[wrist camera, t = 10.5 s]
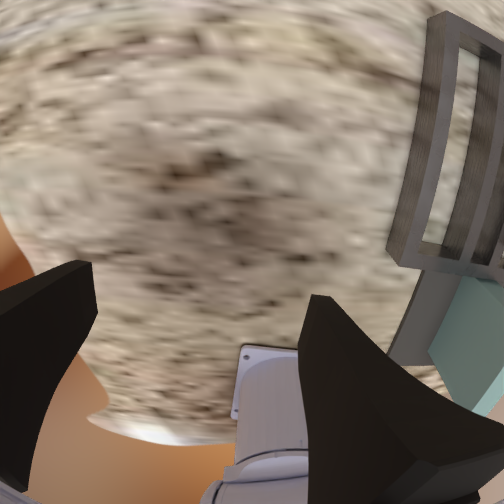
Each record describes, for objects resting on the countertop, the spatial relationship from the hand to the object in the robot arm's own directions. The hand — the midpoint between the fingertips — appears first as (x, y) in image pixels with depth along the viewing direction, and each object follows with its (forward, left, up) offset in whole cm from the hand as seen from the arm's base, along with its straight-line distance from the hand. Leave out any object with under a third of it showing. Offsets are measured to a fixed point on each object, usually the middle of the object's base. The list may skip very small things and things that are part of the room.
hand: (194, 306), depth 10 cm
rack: (+7, -17, -10) cm, 21 cm away
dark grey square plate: (-6, -19, -10) cm, 23 cm away
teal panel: (-5, -19, -10) cm, 22 cm away
